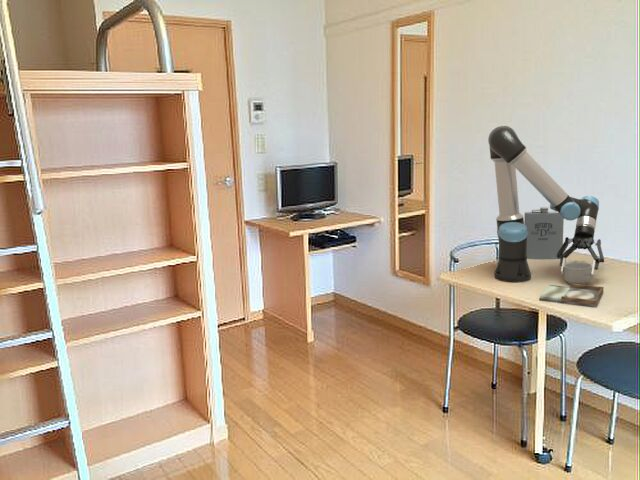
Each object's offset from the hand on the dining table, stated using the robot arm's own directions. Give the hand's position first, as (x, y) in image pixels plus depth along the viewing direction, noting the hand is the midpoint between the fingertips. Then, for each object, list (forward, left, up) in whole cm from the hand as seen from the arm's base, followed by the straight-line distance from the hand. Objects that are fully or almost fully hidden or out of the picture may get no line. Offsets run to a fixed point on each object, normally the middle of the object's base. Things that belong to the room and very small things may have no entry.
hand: (577, 274), depth 234 cm
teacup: (0, +3, -4) cm, 5 cm away
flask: (-21, +35, -4) cm, 41 cm away
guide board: (+1, -17, -4) cm, 17 cm away
